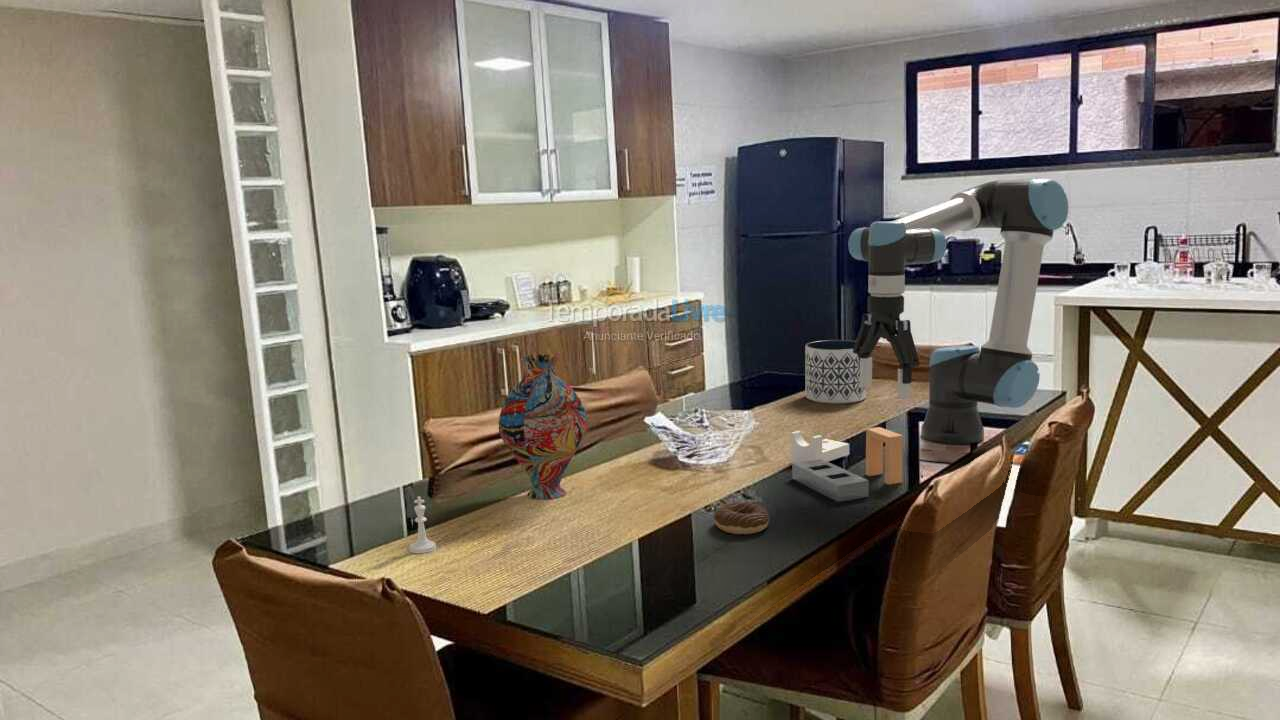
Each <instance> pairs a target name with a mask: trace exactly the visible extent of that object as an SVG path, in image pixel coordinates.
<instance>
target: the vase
mask: <svg viewBox="0 0 1280 720" xmlns="http://www.w3.org/2000/svg"><path fill="white" fill-rule="evenodd" d="M559 358H560V357H559V355H556V354H549V353H548V354H547V353H546V354H544V353H542V354H529V355H525V356H523V357H521V358H520V361H521V362H522V363H523V364H524V367H525V374H524V376H523V378H522V379H521V380H520V381H519V382H518V383H517V385H515V387H513V388H512V389H511V391H509V394H508V395H507V397H506V399H505V401H504V402H503V405H502V407H501V410H500V413H499V418H498V432H499V436H500V438H501V440H502V441H503V443H504V444H505V446H506V447H507V448H508V450H509V451H510V452H511V454H512V455H513V457H514V458H515V459H516V460H517V462H518V463H519V465H520V466H521V468H522V469H523V471H524V472H525V473H526V475H527V477H528V478H529V481H530V483H531V486H532V488H531V490H529V491H528V492H527V494H526V496H527V497H528V498H530V499H534V500H540V501H543V500H544V501H546V500H554V499H559V498H561V497H564V496H565V495H567V491H566V490H565V489H564V488H562V487H561V482H562V479H563V478H562V477H563V476H564V474H565V471H566V469H567V467H568V466H569V464H570V462H571V460H572V459H573V457H574V455H575V453H576V451H577V450H578V448H579V446H580V444H581V443H582V442H583V440H584V437H585V435H586V433H587V430H588V417H587V413H586V409H585V407H584V404H583V403H582V400H581V399H580V397H579V396H578V394H577V393H576V392H575V390H574V389H573V388H572V387H571V386H570V385H568V383H566V381H564V380H563V379H562V378H560V377H559V376H558V374H557V372H556V371H555V369H556V367H555V365H556V363H557V361H558V360H559Z"/></svg>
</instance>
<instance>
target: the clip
mask: <svg viewBox="0 0 1280 720" xmlns="http://www.w3.org/2000/svg"><path fill="white" fill-rule="evenodd" d="M884 444H885V445H884ZM884 446H885V447H884ZM884 448H885V449H884ZM903 448H904V435H903V434H901V433H897V432H894V431H892V430H889V429H886V428H883V427H880V426H877V427H870V428H866V431H865V475H866V476H868V477H873V476H879V475H883V474H884V484H886V485H893V484H894V485H895V484H901V483H903V461H904V460H903V452H904V451H903ZM883 465H884V466H883ZM883 468H884V469H883ZM883 471H884V473H883Z"/></svg>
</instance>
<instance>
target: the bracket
mask: <svg viewBox="0 0 1280 720" xmlns="http://www.w3.org/2000/svg"><path fill="white" fill-rule="evenodd" d="M849 455H850V443H847V442H842V441H837V440H832V439H828V438H823V435H815V436H811V441H810V443H808V442H807V441H806V440H805V439H804V437H803V434H802V431H801V430H796V431H792V432H790V463H791V464H792V463H799V462H806V461H812V460H819V459H822V460H825V461H827V462H831V461H834V460H837V459H840V458H842V457H843V458H844V457H846V456H849Z"/></svg>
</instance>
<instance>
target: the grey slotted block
mask: <svg viewBox="0 0 1280 720" xmlns="http://www.w3.org/2000/svg"><path fill="white" fill-rule="evenodd" d="M791 464H792V465H791V466H792V467H791V468H792V469H791V470H792V471H791V472H792V473H791V474H792V475H791V476H792V477H791V479H793V480H794V481H796V482H797V483H800V484H801V485H804V486H806V487H807V488H810V489H811V490H814V491H815V492H817V493H819V494H820V495H821V494H822V495H823V496H826V497H827V498H829V499H830V500H833V501H834V502H837V503H840V502H845V501H851V500H858V499H863V498H869V494H870V493H869V492H870V491H869V490H870V481H869V480H868V479H867V478H864V477H862V476H860V475H857V474H855V473H853V472H851V471H849V470H846V469H844V468H842V467H840V466H838V465H836V464H834V463H831V462H830V461H828V462H827V461H825V460H822V459H819V460H812V461H806V462H799V463H791Z"/></svg>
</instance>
